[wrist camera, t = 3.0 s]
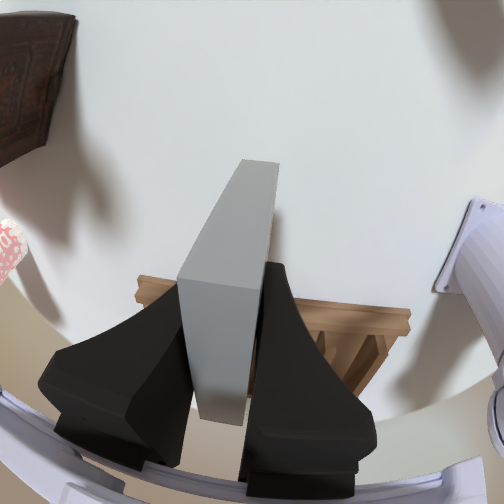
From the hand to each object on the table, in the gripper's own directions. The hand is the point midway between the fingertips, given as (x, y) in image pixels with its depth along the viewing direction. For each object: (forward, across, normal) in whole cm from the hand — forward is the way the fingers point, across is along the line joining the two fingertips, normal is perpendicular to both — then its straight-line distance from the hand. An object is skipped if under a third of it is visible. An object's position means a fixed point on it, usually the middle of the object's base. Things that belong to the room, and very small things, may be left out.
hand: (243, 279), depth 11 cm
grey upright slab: (+4, 0, 0) cm, 4 cm away
